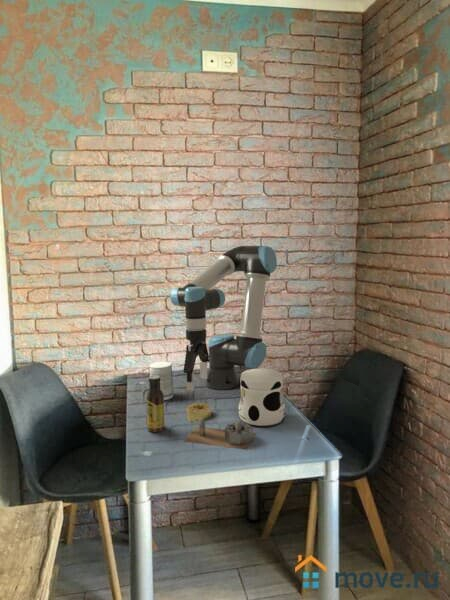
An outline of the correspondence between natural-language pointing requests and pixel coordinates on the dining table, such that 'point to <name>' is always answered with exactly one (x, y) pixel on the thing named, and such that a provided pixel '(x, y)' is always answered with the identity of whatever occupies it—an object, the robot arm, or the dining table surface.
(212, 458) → the dining table surface
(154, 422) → the sauce bottle
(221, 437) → the gear board
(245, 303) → the robot arm
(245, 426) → the steel gear
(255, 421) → the milk container
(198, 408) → the brass gear
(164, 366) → the supplement tub
